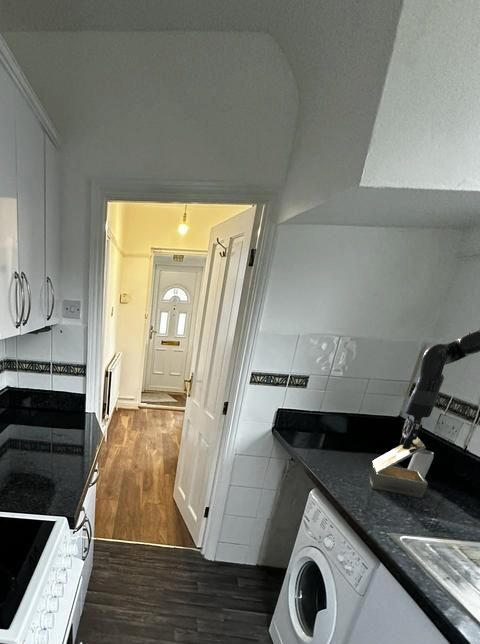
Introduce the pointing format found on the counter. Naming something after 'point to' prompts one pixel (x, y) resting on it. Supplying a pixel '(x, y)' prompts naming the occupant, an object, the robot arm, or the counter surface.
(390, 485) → the beige storage tray
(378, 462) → the lid
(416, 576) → the counter surface
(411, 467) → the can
